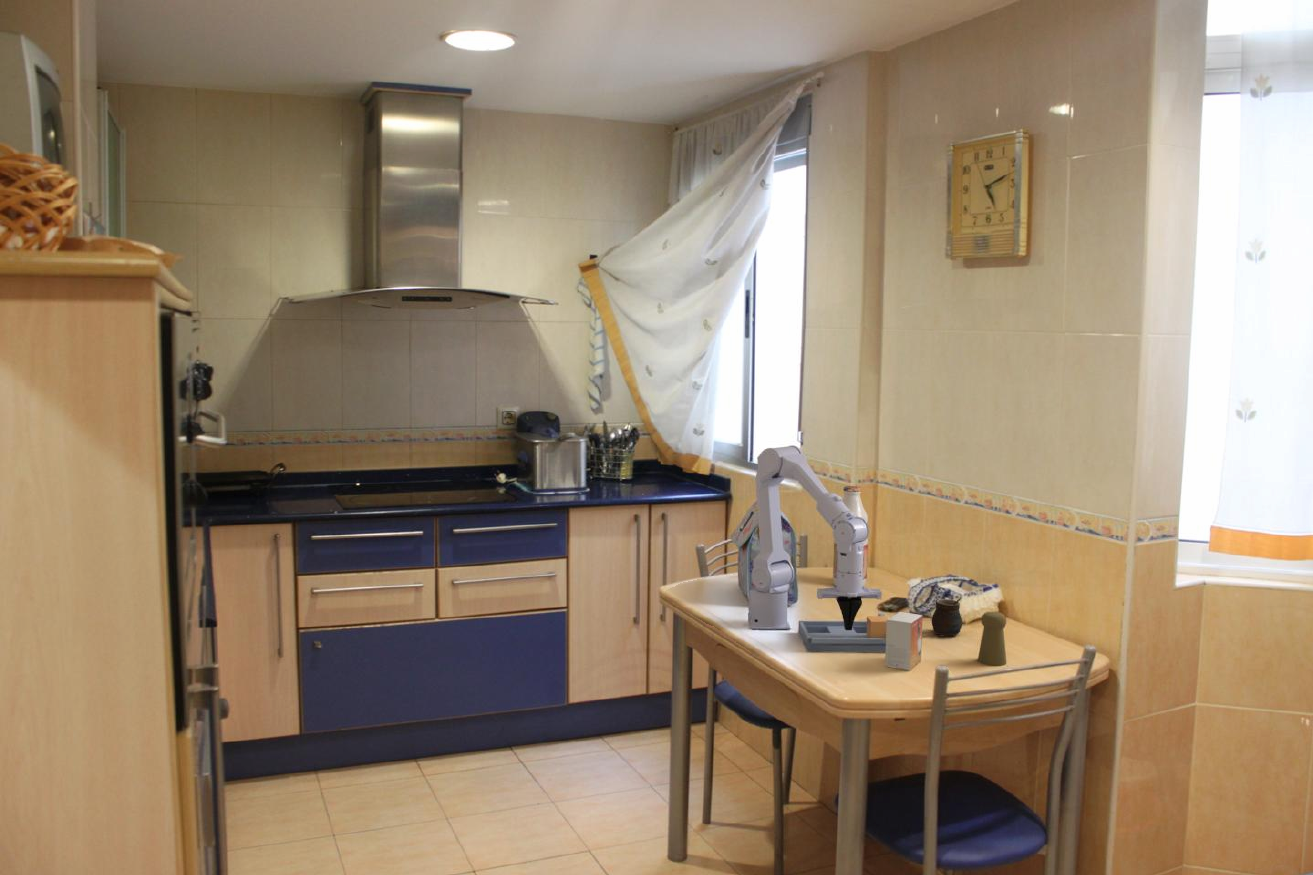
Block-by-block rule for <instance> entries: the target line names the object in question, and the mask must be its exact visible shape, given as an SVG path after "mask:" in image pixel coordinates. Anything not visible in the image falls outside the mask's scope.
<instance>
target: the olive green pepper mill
mask: <svg viewBox="0 0 1313 875" xmlns="http://www.w3.org/2000/svg"><path fill="white" fill-rule="evenodd" d="M980 621H981V625H982V626H983V630H982V635H981V639H980V640H981V641H980V646H979V647H980V648H979V652H978V658H977V662H978V663H979V664H981V665H985V666H989V667H1001V666H1006V665H1007V656H1006V654H1007V653H1006V644H1005V634H1004V633H1005V632H1004V628H1005V627H1006V625H1007V617H1006V615H1005V614H1003V613H1002V612H998V611H986V612H984V613H983V614H982V616H981V620H980Z"/></svg>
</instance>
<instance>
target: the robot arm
mask: <svg viewBox="0 0 1313 875" xmlns="http://www.w3.org/2000/svg"><path fill="white" fill-rule="evenodd" d="M756 460H757V470H756V474H755V478H754V479H755V493H756V501H757V509H758V522H759V535H760V549H761V551H760V552H759V554H758V555H757V556H756V558H755V559H754V568H753V571H752V581H753V584H754V585H755V587H756V589H755V590H750V591H749V603H748V612H747V621H748V624H749V626H750V629H752V630H791V625H790V624H789V621H788V605H787V598H788V589H789V584H791V583H792V581H793V580H794V569H793V566H792V564H791V561H790V555H789V554H788V553H787V552H786V551H784V549H783V539H782V526H781V512H780V510H781V500H780V489H779V487H780V485H781V483H782V482H783V481H784V480H785V479H786V478H789V479H794V480H796V481H797V482H798V484H799V485H801V486H802V488H803V489H804V490H805V491H806V492H807V493H808V494H809V495H810V496H811V497H812V498H813V499H814V500H815V502H816V511H817V512H818V513H819V514H820V515H821V517H822V518H823V519H824V520H825V521H826V523H827V525H829V526H830V528H831V529H832V536H833V540H834V539H835V541H836V544H837V549H838V562H837V586H835V587H826V588H824V587H823V588H817V589H816V598H817V599H818V600H822V599H836V602H837V604H838V606H839V610H840V612H841V616H842V621H844V628H845V630H852V626H853V623H854V621H855V619H856V617H857V614H858V612H859V611H860V609H861V607H862V605H863V600H862V599H876V600H882V599H883V598H882V595H883V592H882V590H881V589H879V588H868V587H866V588H865V587H862V574H863V544H864V542H863V541H865V540H866V539H867V537H868V538H869V536H870V535H869V534H870V528H869V525H868V523H866V522H865V520H864V519H863V518H861V517H857V516H855V515H854V514H853V512H851V511H850V510H849V509H848V508H847V507H846V505H845V504H844V503H843V502H842V501H843V498H842V496H840V494H839V495H838V494H837V493H834V492H829V491H828V490H827V489H826V488H825V486H824V485H823V483H822V481H821V480H820V479H819V477H818V476H817V475H816V473H815V471H813V469H812V468H811V466H810V465H809V464H808V459H807V456H806V455H805V454H804V453H803V452H802V450H801V449H800V448H799V447H798V446H796V445H788V446H781V447H773V448H772V447H767V448H765V449H764V450H762V451H761V453H760V454H759V455H758V456H757V458H756Z"/></svg>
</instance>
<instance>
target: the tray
mask: <svg viewBox="0 0 1313 875" xmlns="http://www.w3.org/2000/svg"><path fill="white" fill-rule="evenodd" d="M877 616H886V615H885V614H884V613H883V612H878V615H877ZM797 632H798V635H799V637H800V639H801V641H802V643H803V645H804V647H805V649H806V651H807V652H808V653H886V638H868V637H867V620H861V621H860V620H854V623H853V626H852V630H845V628H844V621H843V620H798V631H797Z"/></svg>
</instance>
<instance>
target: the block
mask: <svg viewBox="0 0 1313 875" xmlns="http://www.w3.org/2000/svg"><path fill="white" fill-rule="evenodd" d="M887 619H889V617H888V616H886V615H885V616H878V615H877V616H876V615H875V616H873V615H871V616H870V615H869V616H868V615H867V616H866V621H867V637H868V638H886V625H887Z"/></svg>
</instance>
